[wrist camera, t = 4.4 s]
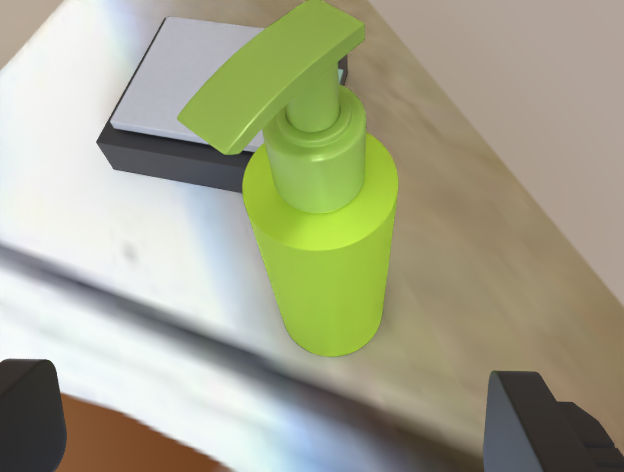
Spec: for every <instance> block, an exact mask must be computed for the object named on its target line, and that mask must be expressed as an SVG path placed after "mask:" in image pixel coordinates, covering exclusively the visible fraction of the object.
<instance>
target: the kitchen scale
mask: <svg viewBox="0 0 624 472" xmlns="http://www.w3.org/2000/svg"><path fill="white" fill-rule="evenodd" d="M263 30H264V28H256V27H249V26H241V25H233V24H225V23H217V22H209V21H201V20H194V19H186V18H178V17H170V16H168V17H167V18H164V20H163V22H162V24H161V26H160V27H159V29H158V31H157V33H156V35H155V36H154V38H153V40H152V42H151V44H150V45H149V47H148V49H147V51H146V53H145V54H144V56H143V58H142V60H141V62H140V64H139V65H138V67H137V69H136V71H135V73H134V74H133V76H132V78H131V80H130V82H129V83H128V85H127V87H126V89H125V91H124V92H123V94H122V96H121V98H120V100H119V101H118V103H117V105H116V107H115V109H114V111H113V112H112V114H111V116H110V118H109V120H108V121H107V123H106V125H105V127H104V129H103V130H102V132H101V134H100V136H99V138H98V139H97V141H96V143H97V144H98V146H99V147H100V149H101V150H102V152H103V154H104V155H105V157H106V158H107V160H108V161H109V163H110V164H111V166H112V167H113V169H116V170H122V171H127V172H133V173H138V174H143V175H149V176H154V177H160V178H165V179H170V180H176V181H181V182H187V183H192V184H197V185H203V186H208V187H214V188H219V189H224V190H230V191H235V192H241V193H242V183H243V177H244V173H245V170H246V167H247V165H248V163H249V161H250V159H251V157H252V156H253V154H254V153H255V152H256V150H257V149H258V148H259V147H260V146H261V145H262V144H263V143H264V137H263V132H262V129H261V130H260V131H259V133H258V134H257V135H256V136H255V137H254V138H253V139H252V140H251V142H250V143H249V144H248V145H247V146H246V147H245V148H244V149H243V151H241V152H240V153H239V154H234V155H225V154H223V153H221V152H220V151H218V150H217V149H215V148H214V147H213V146H211V145H210V144H208V143H207V142H206V141H204V140H203V139H202V138H200V137H199V136H198V135H196V134H195V133H194V132H192V131H191V130H190V129H188V128H187V127H186V126H184V125H183V124H182V123H180V122H179V121H178V120H177V116H178V114H179V113H180V112H181V110H182V109H183V108H184V107H185V105H186V104H187V103H188V102H189V101H190V99H191V98H192V97H193V96H194V95H195V94H196V92H197V91H198V90H199V89H200V88H201V87H202V86H203V85H204V83H205V82H206V81H207V80H208V79H209V78H210V77H211V76H212V75H213V74H214V73H215V72H216V71H217V70H218V69H219V68H220V67H221V66H222V65H223V64H224V63H225V62H226V61H227V60H228V59H229V58H230V57H231V56H232V55H233V54H234V53H236V52H237V51H238V50H239V49H240V48H241V47H243V46H244V45H245V44H246V43H247V42H249V41H250V40H251V39H252V38H254V37H255V36H256V35H258V34H259V33H260V32H262V31H263ZM347 73H348V69H347V55H345V56H344V57H343V58H342V59H340V60H339V61H338V76H339V84H340V85H342V86H344V82H345V79H346V76H347Z"/></svg>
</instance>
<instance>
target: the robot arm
mask: <svg viewBox="0 0 624 472" xmlns="http://www.w3.org/2000/svg"><path fill="white" fill-rule="evenodd" d="M66 439H67V433H66V425H65V419H64V413H63V407H62V401H61V395H60V389H59V383H58V378H57V372H56V369H55V366H54V364H53V363H52V362H51V361H49V360H46V359H6V360H3V361H2V362H0V472H54V471H55V470H56V469H57V467H58V466H59V464H60V462H61V460H62V457H63V455H64V451H65V447H66ZM483 460H484V470H485V472H624V457H623V455H622V454H621V452H620V451H619V450H618V448H615V446H614V443H613V441H612V440H611V438H610V437H609V435H608V434H607V433H606V431H605V430H604V428H603V427H602V426H601V424H600V423H599V421H597V420H596V419H595V418H593V417H592V416H591V415H589V414H588V413H587V412H585V411H584V410H582V409H581V408H580V407H578V406H577V405H576V404H574V403H573V402H557V401H556V400H555V398H554V396H553V395H552V393H551V392H550V390H549V388H548V387H547V385H546V384H545V382H544V380H543V379H542V377H541V376H540V374H539V373H538V372H528V371H492V372H491V374H490V378H489V384H488V396H487V408H486V420H485V432H484V445H483Z"/></svg>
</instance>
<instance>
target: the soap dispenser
mask: <svg viewBox="0 0 624 472" xmlns="http://www.w3.org/2000/svg"><path fill="white" fill-rule="evenodd" d="M364 39H365V24H364V23H363V22H361V21H359V20H358V19H356V18H354V17H352V16H350V15H348V14H346V13H344V12H343V11H341V10H339V9H337V8H335V7H333V6H331V5H329V4H328V3H326V2H324V1H322V0H306V1H305V2H303V3H302V4H300V5H299V6H297V7H296V8H294V9H293V10H291V11H290V12H288V13H287V14H286V15H284V16H283V17H281V18H280V19H278V20H277V21H275V22H274V23H273V24H271V25H270V26H268V27H267V28H266V29H264V30H263V31H262V32H260V33H259V34H258V35H256V36H255V37H254V38H252V39H251V40H250V41H249V42H247V43H246V44H245V45H244V46H243V47H241V48H240V49H239V50H238V51H237V52H236V53H234V54H233V55H232V56H231V57H230V58H229V59H228V60H227V61H226V62H225V63H224V64H223V65H222V66H221V67H220V68H219V69H218V70H217V71H216V72H215V73H214V74H213V75H212V76H211V77H210V78H209V79H208V80H207V81H206V82H205V83H204V85H203V86H202V87H201V88H200V89H199V90H198V91H197V92H196V94H195V95H194V96H193V97H192V98H191V99H190V101H189V102H188V103H187V104H186V105H185V107H184V108H183V109H182V110H181V112H180V113H179V114H178V116H177V120H178V121H179V122H180V123H182V124H183V125H184V126H186V127H187V128H188V129H190V130H191V131H192V132H194V133H195V134H196V135H198V136H199V137H200V138H202V139H203V140H204V141H206V142H207V143H208V144H210V145H211V146H213V147H214V148H215V149H217V150H218V151H220V152H221V153H223V154H225V155H234V154H239V153H240V152H241V151H243V149H244V148H245V147H246V146H247V145H248V144H249V143H250V142H251V140H252V139H253V138H254V137H255V136H256V135H257V134H258V133H259V131H260V130H261V129H262V132H263V137H264V143H263V144H262V145H261V146H260V147H259V148H258V149H257V150H256V152H255V153H254V154H253V156H252V157H251V159H250V161H249V163H248V165H247V167H246V170H245V173H244V177H243V183H242V193H243V200H244V204H245V207H246V210H247V213H248V216H249V219H250V222H251V225H252V228H253V231H254V234H255V237H256V240H257V243H258V246H259V249H260V252H261V255H262V258H263V261H264V264H265V267H266V270H267V273H268V276H269V279H270V282H271V285H272V288H273V291H274V295H275V298H276V301H277V304H278V307H279V310H280V313H281V316H282V319H283V322H284V325H285V327H286V329H287V331H288V333H289V335H290V336H291V337H292V339H293V340H294V341H295V342H296V343H297V344H298V345H300V346H301V347H302V348H304V349H305V350H307V351H309V352H311V353H314V354H317V355H321V356H328V357H335V356H343V355H347V354H350V353H352V352H355V351H357V350H358V349H360V348H362V347H363V346H364V345H365V344H367V343H368V342H369V341H370V340H371V338H372V337H373V336H374V334H375V333H376V331H377V329H378V327H379V325H380V322H381V318H382V312H383V304H384V296H385V288H386V280H387V273H388V265H389V257H390V249H391V241H392V233H393V226H394V218H395V210H396V202H397V194H398V174H397V169H396V166H395V163H394V161H393V159H392V157H391V155H390V154H389V152H388V151H387V149H386V148H385V147H384V146H383V145H382V143H380V142H379V141H378V140H377V139H376V138H375V137H373V136H372V135H371V134H369V133H367V132H366V114H365V110H364V107H363V104H362V103H361V101H360V99H359V98H358V97H357V96H356V95H355V94H354V93H353V92H352V91H351V90H349V89H348V88H346V87H344V86H342V85H340V84H339V76H338V61H339V60H340V59H342V58H343V57H344V56H345V55H347V54H348V53H349V52H350V51H352V50H353V49H354V48H355V47H357V46H358V45H359V44H360V43H362V42H363V41H364Z"/></svg>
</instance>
